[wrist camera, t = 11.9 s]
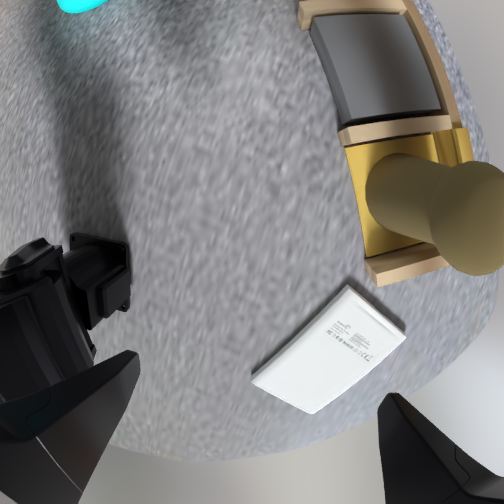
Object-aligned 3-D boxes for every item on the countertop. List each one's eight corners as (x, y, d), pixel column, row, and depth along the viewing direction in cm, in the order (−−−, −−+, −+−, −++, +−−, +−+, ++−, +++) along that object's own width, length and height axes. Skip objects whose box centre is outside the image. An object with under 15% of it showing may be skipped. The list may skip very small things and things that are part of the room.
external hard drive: (251, 371, 25) (345, 280, 21) (312, 404, 26) (402, 329, 22) (250, 382, 24) (350, 289, 20) (313, 415, 24) (408, 339, 21)
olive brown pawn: (384, 246, 19) (463, 321, 9) (350, 174, 18) (429, 190, 8) (443, 210, 18) (540, 253, 8) (414, 140, 17) (518, 133, 6)
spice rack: (365, 271, 20) (379, 290, 17) (296, 20, 15) (299, -3, 12) (457, 244, 19) (480, 257, 15) (399, 15, 13) (415, -3, 10)
